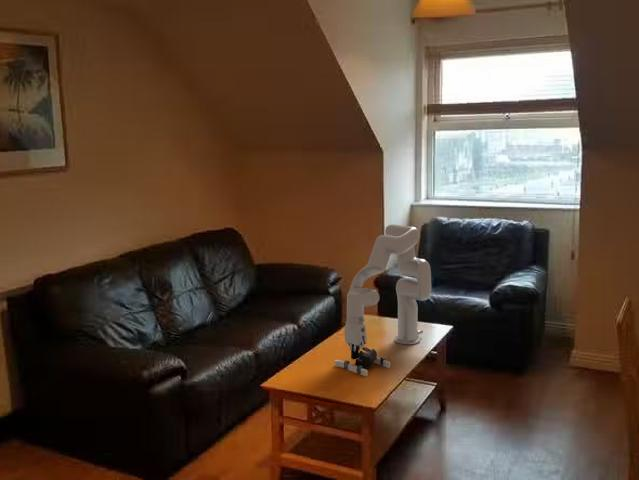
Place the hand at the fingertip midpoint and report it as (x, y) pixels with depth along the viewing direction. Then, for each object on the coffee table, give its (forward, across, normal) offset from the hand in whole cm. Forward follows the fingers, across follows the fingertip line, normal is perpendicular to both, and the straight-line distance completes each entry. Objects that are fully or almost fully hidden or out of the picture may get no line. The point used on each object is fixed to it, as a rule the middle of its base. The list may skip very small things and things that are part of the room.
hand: (354, 358), depth 300 cm
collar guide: (+3, -4, -1) cm, 5 cm away
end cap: (+2, -4, -1) cm, 5 cm away
